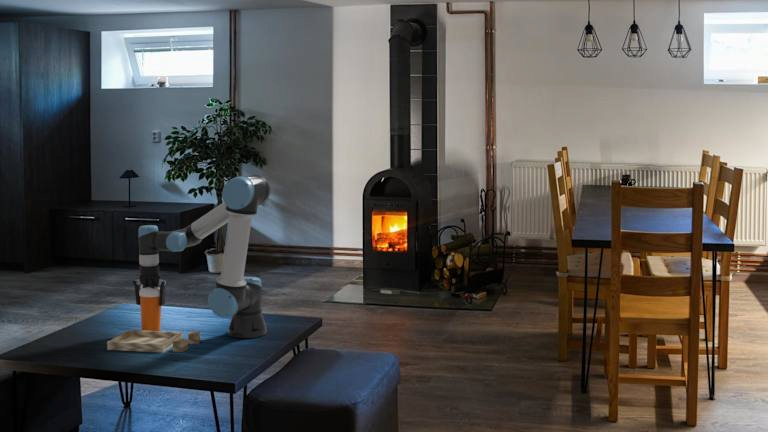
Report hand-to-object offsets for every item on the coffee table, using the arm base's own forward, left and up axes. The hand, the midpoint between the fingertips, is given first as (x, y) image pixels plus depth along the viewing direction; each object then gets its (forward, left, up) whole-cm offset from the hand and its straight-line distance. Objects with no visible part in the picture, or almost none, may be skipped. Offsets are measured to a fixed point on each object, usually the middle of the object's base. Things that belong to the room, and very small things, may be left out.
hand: (151, 322), depth 337 cm
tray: (-5, +16, -5) cm, 17 cm away
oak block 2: (-22, +10, -5) cm, 25 cm away
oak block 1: (-21, +21, -5) cm, 30 cm away
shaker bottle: (0, 0, -5) cm, 5 cm away
